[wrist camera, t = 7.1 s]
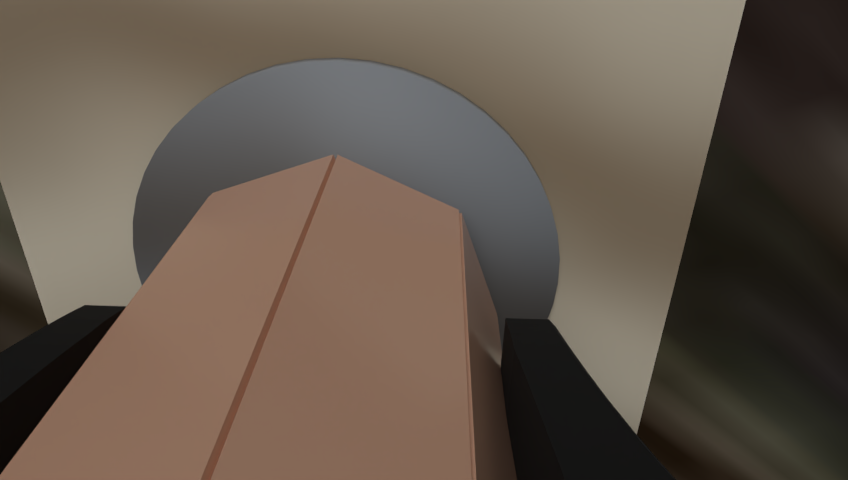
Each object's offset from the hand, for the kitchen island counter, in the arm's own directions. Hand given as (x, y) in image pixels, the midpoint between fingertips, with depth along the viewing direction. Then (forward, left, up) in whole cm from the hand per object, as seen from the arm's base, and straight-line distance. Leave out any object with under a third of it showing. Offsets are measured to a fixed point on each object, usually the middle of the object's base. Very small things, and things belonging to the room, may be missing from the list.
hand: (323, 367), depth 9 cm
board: (-4, +1, -4) cm, 6 cm away
